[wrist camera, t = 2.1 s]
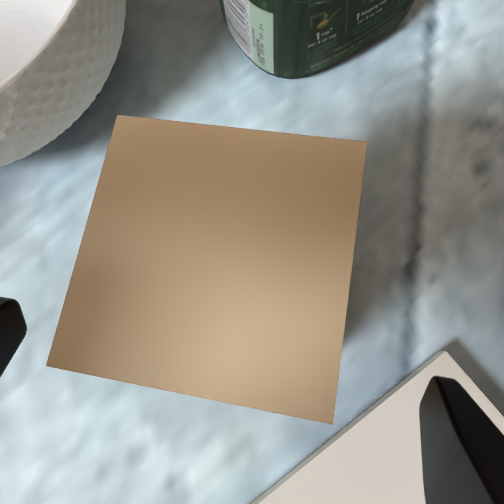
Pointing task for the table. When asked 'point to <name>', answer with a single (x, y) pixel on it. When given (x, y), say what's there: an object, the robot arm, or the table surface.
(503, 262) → the table surface
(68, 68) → the cereal bowl
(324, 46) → the coffee jar
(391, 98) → the table surface
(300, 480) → the plate
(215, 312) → the beech block
